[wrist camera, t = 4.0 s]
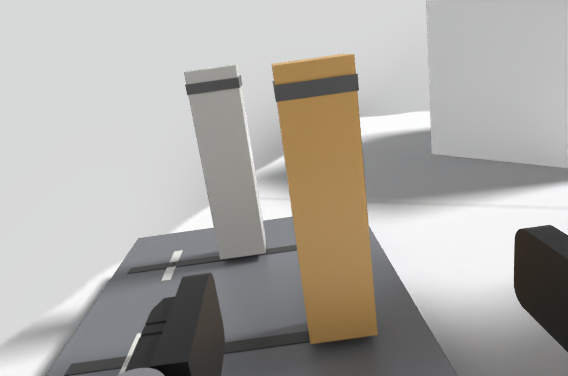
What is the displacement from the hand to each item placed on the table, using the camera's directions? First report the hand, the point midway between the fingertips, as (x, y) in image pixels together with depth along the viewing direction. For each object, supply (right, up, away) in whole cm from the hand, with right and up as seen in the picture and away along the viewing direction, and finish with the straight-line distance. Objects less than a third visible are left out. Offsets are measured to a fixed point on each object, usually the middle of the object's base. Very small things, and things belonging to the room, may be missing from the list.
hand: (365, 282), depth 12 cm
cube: (+34, +8, +48) cm, 59 cm away
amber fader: (0, -4, +9) cm, 10 cm away
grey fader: (-5, -2, +19) cm, 20 cm away
